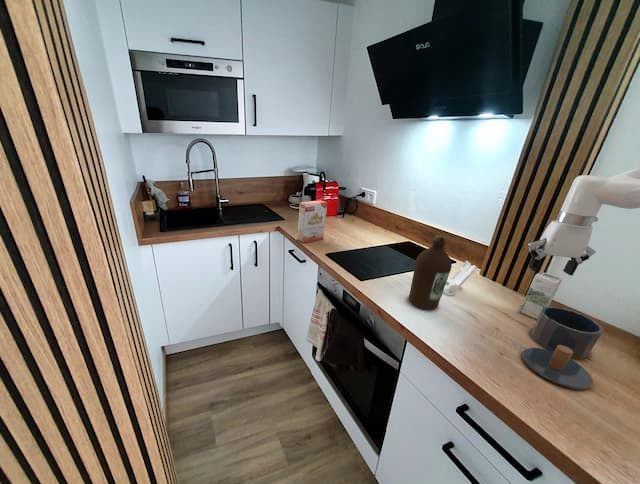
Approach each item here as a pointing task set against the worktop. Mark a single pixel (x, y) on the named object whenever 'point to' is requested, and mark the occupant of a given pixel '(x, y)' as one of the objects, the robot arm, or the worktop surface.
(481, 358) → the worktop surface
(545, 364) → the tin lid
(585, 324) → the tin
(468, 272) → the plastic part
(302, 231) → the cracker box
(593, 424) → the worktop surface
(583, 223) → the robot arm
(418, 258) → the brown bottle
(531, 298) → the syrup box
